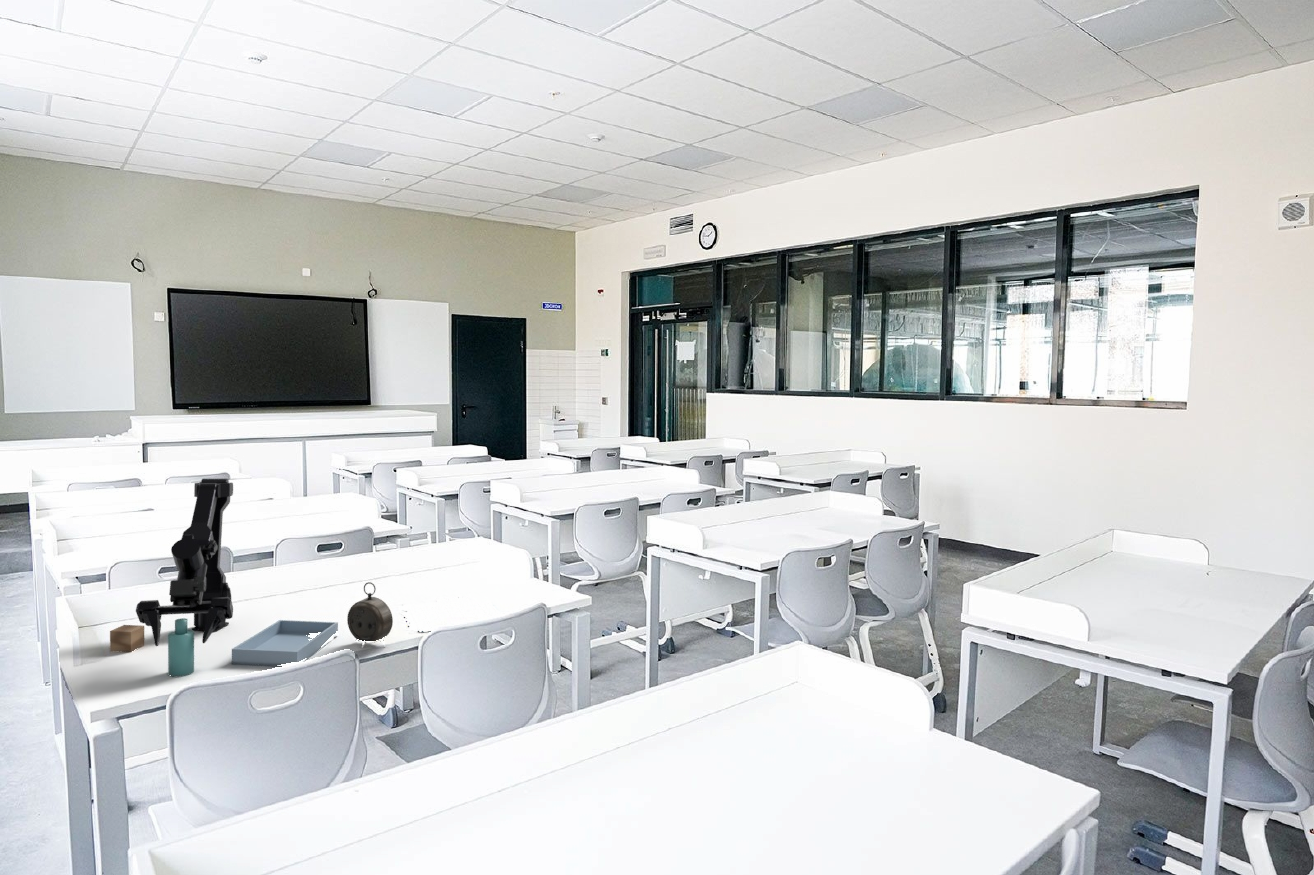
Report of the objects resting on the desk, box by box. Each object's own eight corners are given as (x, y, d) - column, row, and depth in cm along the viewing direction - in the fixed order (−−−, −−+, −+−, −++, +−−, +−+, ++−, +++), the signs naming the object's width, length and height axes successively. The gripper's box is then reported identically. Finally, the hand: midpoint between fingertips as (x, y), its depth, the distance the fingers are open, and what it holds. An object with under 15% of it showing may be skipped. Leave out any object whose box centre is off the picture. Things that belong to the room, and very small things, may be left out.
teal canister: (198, 669, 185) (198, 617, 184) (185, 677, 180) (185, 623, 179) (176, 668, 185) (176, 616, 184) (163, 676, 180) (163, 622, 179)
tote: (337, 636, 212) (338, 622, 211) (297, 667, 188) (297, 651, 188) (279, 633, 212) (279, 620, 212) (231, 664, 189) (231, 649, 188)
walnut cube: (144, 645, 199) (144, 625, 199) (130, 652, 194) (130, 631, 194) (124, 645, 199) (123, 624, 199) (110, 651, 194) (110, 631, 194)
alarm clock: (393, 646, 206) (394, 582, 205) (379, 652, 201) (380, 587, 200) (357, 640, 209) (358, 577, 208) (343, 646, 204) (343, 582, 203)
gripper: (137, 565, 182) (123, 628, 172) (231, 562, 188) (222, 623, 178) (147, 591, 190) (134, 653, 180) (236, 587, 196) (228, 647, 186)
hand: (180, 643), depth 181 cm, fingers open, 9 cm apart
